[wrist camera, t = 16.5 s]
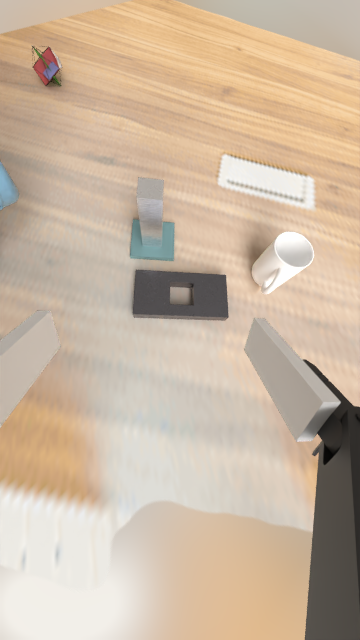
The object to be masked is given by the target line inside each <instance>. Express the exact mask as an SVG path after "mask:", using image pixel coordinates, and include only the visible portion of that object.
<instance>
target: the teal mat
mask: <svg viewBox="0 0 360 640" xmlns="http://www.w3.org/2000/svg"><path fill="white" fill-rule="evenodd" d="M130 257H131V258H134V259H150V260H166V261H174V223H170V222H163V229H162V247H150V246H143V244H142V236H141V228H140V220H134V219H133V226H132V239H131V251H130Z"/></svg>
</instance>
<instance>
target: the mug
mask: <svg viewBox="0 0 360 640" xmlns="http://www.w3.org/2000/svg"><path fill="white" fill-rule="evenodd" d="M313 258H314V250H313V247H312V245H311V243H310V242H309V241H308V240H307V239H306V238H305V237H304V236H303V235H301V234H299V233H296V232H284V233H281V234H280V235H278V236H277V238H276V239H275V240H274V241H273V242H272V243H271V244H270V245H269V247H268V248H267V249H266V250H265V251H264V252H263V253H262V255H261V256H260V257H259V258H258V259H257V260H256V261H255V263H254V264H253V266H252V271H251V272H252V277H253V279H254V281H255V282H256V283H257V284H258V285H259V286H261V292H262V293H263V294H269V293H270V292H272V291H273V290H274V289H275V288H276V287H278V286H280V285H281V284H283V283H284V282H286V281H287V280H288V279H290V278H291V277H293V276H294V275H296V274H297V273H298V272H300V271H301V270H303V269H304V268H305V267H307V266H308V265H310V263H311V262H312V260H313Z"/></svg>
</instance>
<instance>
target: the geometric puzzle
mask: <svg viewBox="0 0 360 640" xmlns="http://www.w3.org/2000/svg"><path fill="white" fill-rule="evenodd" d="M42 47H45V46H42ZM33 48H34V50H35V51H36V53H37V54H38V56H39V58H40V59H38V60H37V62H36V63H35V65H34V66H33V68H34V70H35V71H36V73H37V74H38V75H39V77H40V78H41V80H42V81H43V82H44V84H45V85H46V86H47V85H48V83H49V82H50V81H51V80H52V79H54V80H55V81H56V82H57V83H58V84H59V82H58V81H57V79H56V78H55V75H56V73H57V72H58V71H59V72H60V70H59V69H60V68H62V65H61V64H60V63H61V62H60V60H59V58H58V57H57V55H56V54H55V53H54V52H53V51H51V48H49V47H48V48H47V49H46V50H45V51H44V52H42V54H43V53H44V54H43V55H42V54H40V53H39V52H38V51H37V50H38V49H37V50H36V49H35V47H33V46H32V49H33ZM39 51H40V50H39ZM52 52H53V53H54V54H53V53H52ZM33 54H34V53H33ZM54 55H55V56H56V58H55V56H54ZM32 58H33V55H32ZM34 59H35V58H34ZM60 81H61V80H60ZM51 82H52V81H51ZM53 83H54V82H53ZM55 84H56V83H55ZM58 84H57V85H58ZM59 86H61V85H60V84H59Z"/></svg>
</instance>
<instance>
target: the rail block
mask: <svg viewBox="0 0 360 640" xmlns="http://www.w3.org/2000/svg"><path fill="white" fill-rule="evenodd" d="M170 287H186V288H192V305H170ZM133 316H134V318H164V319H195V320H226V319H227V318H228V302H227V286H226V275H217V274H200V273H183V272H165V271H148V270H136V276H135V290H134V304H133Z"/></svg>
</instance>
